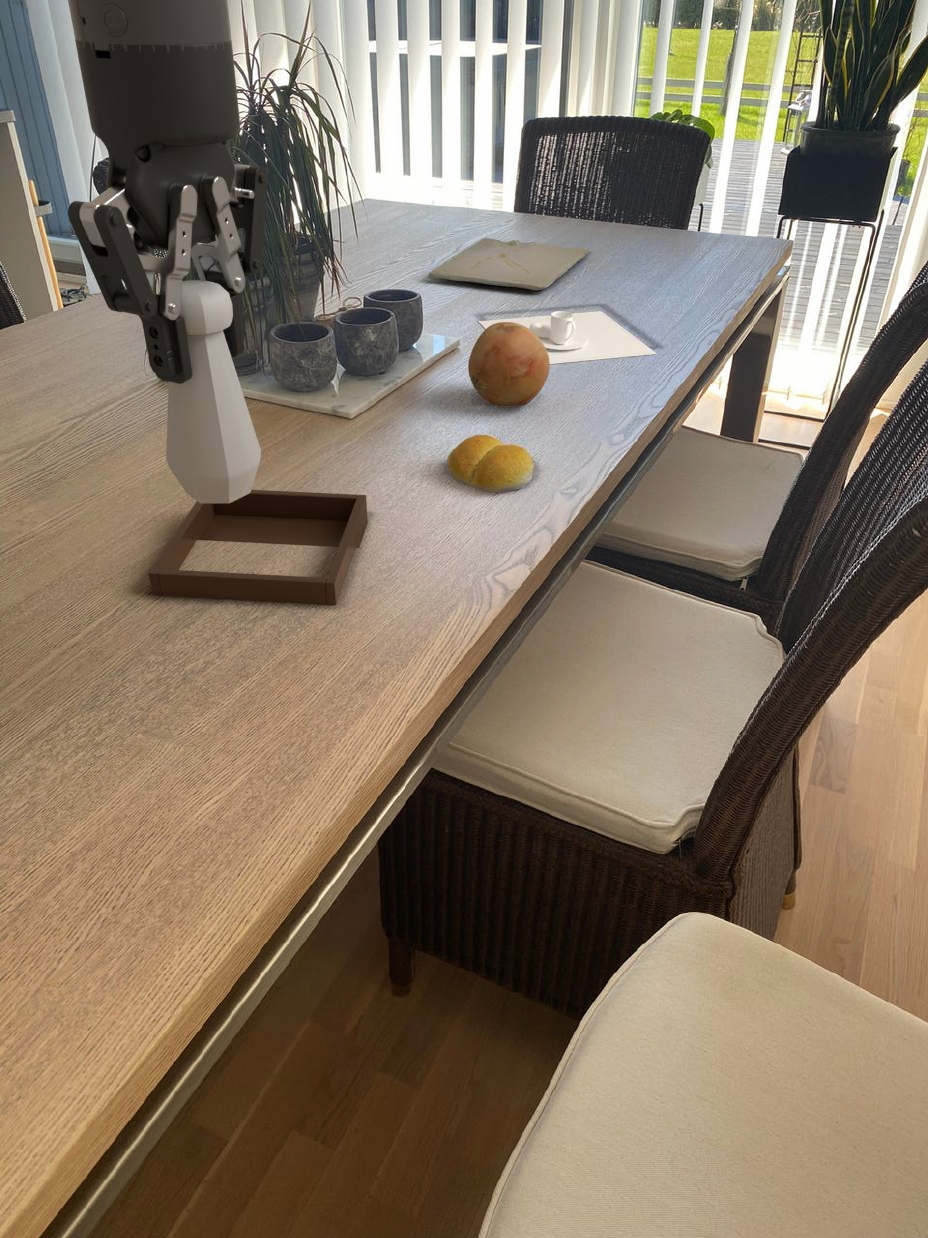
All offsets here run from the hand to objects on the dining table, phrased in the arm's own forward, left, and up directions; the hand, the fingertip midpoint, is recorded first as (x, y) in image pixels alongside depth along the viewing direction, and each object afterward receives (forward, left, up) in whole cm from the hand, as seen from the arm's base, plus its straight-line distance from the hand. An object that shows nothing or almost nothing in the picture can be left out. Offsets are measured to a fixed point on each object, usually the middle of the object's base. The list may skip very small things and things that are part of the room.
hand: (201, 365), depth 57 cm
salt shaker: (0, 0, -8) cm, 8 cm away
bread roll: (+16, +37, -25) cm, 47 cm away
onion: (+17, +57, -25) cm, 64 cm away
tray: (-3, +18, -25) cm, 31 cm away
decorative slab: (+15, +118, -25) cm, 122 cm away
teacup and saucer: (+24, +83, -25) cm, 90 cm away
